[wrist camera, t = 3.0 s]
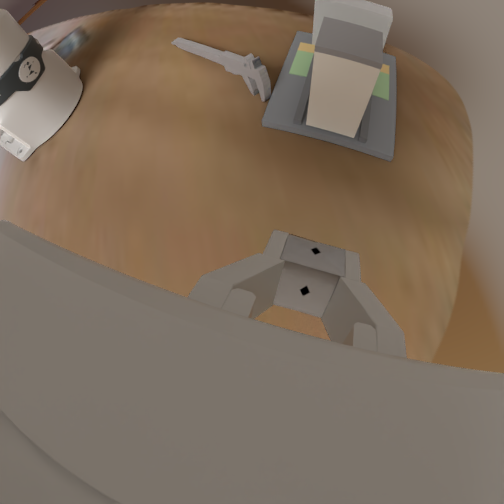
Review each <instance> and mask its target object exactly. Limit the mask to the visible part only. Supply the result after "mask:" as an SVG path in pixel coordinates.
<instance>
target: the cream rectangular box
mask: <svg viewBox="0 0 504 504" xmlns="http://www.w3.org/2000/svg"><path fill="white" fill-rule="evenodd" d="M382 65H383V32H380V31H377V30H374V29H371V28H367V27H364V26H361V25H357V24H353V23H350V22H346V21H342V20H337V19H333V18H328V17H324V18H323V22H322V25H321V28H320V31H319V34H318V37H317V41H316V44H315V50H314V60H313V69H312V79H311V88H310V96H309V105H308V113H307V121H306V125H309V126H313V127H317V128H320V129H324V130H328V131H331V132H335V133H338V134H342V135H345V136H349V137H352V138H354V137H355V134H356V132H357V129H358V127H359V124H360V122H361V120H362V117H363V115H364V112H365V109H366V107H367V104H368V102H369V99H370V97H371V94H372V92H373V89H374V86H375V84H376V81H377V78H378V76H379V73H380V70H381V68H382Z"/></svg>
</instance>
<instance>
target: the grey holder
mask: <svg viewBox="0 0 504 504" xmlns="http://www.w3.org/2000/svg"><path fill="white" fill-rule="evenodd" d="M324 17H328V18H333V19H337V20H342V21H346V22H350V23H353V24H357V25H361V26H364V27H367V28H371V29H374V30H377V31H380V32H383V48H384V45H385V42H386V39H387V36H388V33H389V29H390V26H391V23H392V20H393V16H392V9H390V8H388V7H385V6H381V5H379V4H375V3H372V2H369V1H365V0H315V9H314V23H313V34H312V33H306V32H301V31H297V33H296V36H295V38H294V40H293V43H292V45H291V48H290V50H289V53H288V55H287V57H286V60H285V62H284V65H283V67H282V70H281V72H280V75H279V77H278V80H277V82H276V85H275V87H274V90H273V93H272V95H271V98H270V100H269V103H268V106H267V108H266V111H265V113H264V116H263V119H262V126H264V127H269V128H274V129H278V130H283V131H287V132H292V133H296V134H300V135H304V136H308V137H312V138H316V139H320V140H323V141H327V142H331V143H334V144H337V145H341V146H344V147H348V148H351V149H354V150H357V151H360V152H363V153H366V154H370V155H372V156H375V157H378V158H381V159H384V160H387V161H391V160H392V159H393V156H394V143H395V127H396V57H394V56H392V55H389V54H386V53H383V65H382V68H381V70H380V73H379V76H378V78H377V81H376V84H375V86H374V89H373V92H372V94H371V97H370V99H369V102H368V104H367V107H366V109H365V112H364V115H363V117H362V120H361V122H360V124H359V127H358V129H357V132H356V134H355V137H354V138H352V137H349V136H345V135H342V134H338V133H335V132H331V131H328V130H324V129H320V128H317V127H313V126H309V125H306V121H307V113H308V105H309V96H310V88H311V79H312V69H313V60H314V50H315V44H316V41H317V37H318V34H319V31H320V28H321V25H322V22H323V18H324Z"/></svg>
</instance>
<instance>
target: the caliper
mask: <svg viewBox="0 0 504 504" xmlns="http://www.w3.org/2000/svg"><path fill="white" fill-rule="evenodd" d="M172 44H174V45H176V46H177V47H179V48H181V49H183V50H185V51H188V52H191V53H194V54H196V55H199V56H202V57H204V58H207V59H209V60H212V61H214V62H216V63H219V64H221V65H223V66H224V67H225V70H226V71H228V72H231V73H233V74H237V75H238V74H239V75H241V76H242V77H243V79H244V81H245V82H246V84H247V86H248V88H249V90H250V92H251V93H252V94H253V95H254V96H255V95H256V94H258V93H260V96H261V99H262V101H263V102H264V101H266V100H267V99H269V98H270V97H271V85H270V79H269V76H268V73H267V70H266V67H265V66H263V65H262V64H261V61H260V58H259V56H258V57H256V58H254V56H253V55H252V54H249V55H247V56H245V57H243V56H240V55H237V54H235V53H232V52H229V51H224V52H223V51H220V50H217V49H214V48H211V47H208V46H205V45H202V44H199V43H196V42H193V41H189V40H186V39H182V38H177V39H176V40H174V41H173V42H172Z"/></svg>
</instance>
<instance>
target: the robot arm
mask: <svg viewBox="0 0 504 504" xmlns="http://www.w3.org/2000/svg"><path fill="white" fill-rule="evenodd" d="M79 75H80V69H79V68H78V67H77V66H74V67H72V68H71V67H70V66H69V65H68V64H67V63H66V62H65V61H64V60H63V59H62V58H61V57H60V56H58V55H57V54H56V53H55V52H54V51H53V50H51V49H50V50H45V51H43V47H42V46H41V45H40V44H39V42H38V40H37V39H35V38H34V37H33V36H32V35H27V34H26V33H25V31H24V30H23V29H22V28H21V27H20V25H19V24H18V23H17V22H16V21H15V20H14V18H12V16H11V15H10V14H9V12H8V11H6V10H4V9H0V146H2V147H3V148H4V149H6V150H7V151H9V152H10V153H11V154H13V155H14V156H15V157H17V158H18V159H20V160H21V161H25V160H26V159H27V158H28V157H29V156H30V155H31V154H32V153H33V151H34V150H35V149H36V148H37V147H38V146H40V145H41V144H43V143H44V142H45V141H47V140H48V139H49V138H50V137H51V136H52V135H53V134H54V133H55V132H56V131H57V130H58V129H59V128H60V127H61V126H62V125H63V124H64V122H65V121H66V120H67V118H68V117H69V116H70V114H71V113H72V111H73V110H74V108H75V106H76V105H77V103H78V101H79V98H80V96H81V93H82V88H83V85H82V81H81V80H80V78H79ZM273 304H274V305H277V306H281V307H285V308H289V309H293V310H297V311H300V312H303V313H306V314H310V315H313V316H316V317H320V318H321V320H322V322H323V324H324V326H325V329H326V331H327V333H328V335H329V337H330V340H331V341H329V340H325V339H321V338H318V337H314V336H310V335H306V334H303V333H299V332H295V331H292V330H288V329H285V328H281V327H278V326H274V325H271V324H268V323H264V322H261V321H258V320H254V318H256V317H257V316H259V315H260V314H261V313H263V312H264V311H266V310H267V309H268V308H270V307H271V306H273ZM0 504H504V373H496V372H488V371H480V370H472V369H466V368H459V367H452V366H447V365H441V364H434V363H429V362H424V361H419V360H413V359H408V358H407V357H406V347H405V338H404V332H403V331H402V330H401V328H400V327H399V326H398V324H397V323H396V322H395V320H394V319H393V318H392V317H391V315H390V314H389V313H388V311H387V310H386V309H385V308H384V306H383V305H382V304H381V303H380V301H379V300H378V299H377V298H376V296H375V295H374V294H373V293H372V291H371V290H370V289H369V288H368V286H367V285H366V284H365V283H362V282H361V272H360V257H359V254H358V253H356V252H352V251H348V250H345V249H341V248H337V247H333V246H330V245H326V244H322V243H318V242H316V241H312V240H309V239H306V238H303V237H299V236H296V235H293V234H288V233H287V232H283V231H279V230H273V232H272V234H271V237H270V239H269V241H268V243H267V246H266V248H265V250H264V252H263V254H260V253H258V254H255V255H252V256H250V257H247V258H245V259H242V260H240V261H237V262H235V263H232V264H230V265H227V266H225V267H222V268H220V269H217V270H215V271H212V272H210V273H207V274H205V275H202V276H201V278H200V279H199V281H198V282H197V284H196V285H195V287H194V288H193V290H192V291H191V293H190V294H189V296H188V297H185V296H182V295H179V294H176V293H174V292H171V291H168V290H165V289H163V288H160V287H157V286H155V285H152V284H149V283H147V282H144V281H141V280H139V279H136V278H134V277H131V276H129V275H126V274H124V273H121V272H119V271H116V270H114V269H111V268H109V267H106V266H104V265H102V264H99V263H97V262H94V261H92V260H90V259H87V258H85V257H83V256H80V255H78V254H76V253H74V252H71V251H69V250H67V249H65V248H62V247H60V246H58V245H56V244H54V243H52V242H49V241H47V240H45V239H43V238H41V237H39V236H37V235H35V234H33V233H31V232H29V231H26V230H24V229H22V228H20V227H18V226H17V225H15V224H13V223H11V222H9V221H7V220H0Z"/></svg>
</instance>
